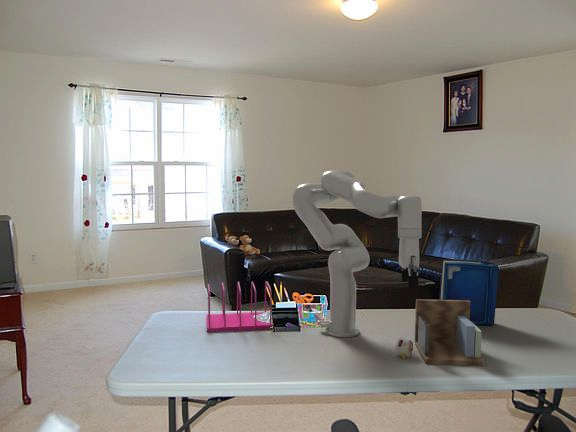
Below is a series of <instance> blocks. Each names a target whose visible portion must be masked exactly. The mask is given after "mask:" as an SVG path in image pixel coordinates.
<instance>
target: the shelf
mask: <svg viewBox="0 0 576 432" xmlns="http://www.w3.org/2000/svg"><path fill="white" fill-rule="evenodd" d="M419 315H423V317H424V318H425V320H426V321H427V322H428V324H429V325H430V328H429V355H428V356H425V355H424V354H423V352H422V350H421V348H420V347H419V345H418V322H419ZM457 316H465V317H466V318H467V319H468V320H470V301H469V300H439V299H428V298H427V299H424V298H423V299H419V298H416V299H415V315H414V319H415V321H414V343H415V344H414V346H415V345H416V346H415V347H417V348H416V349H418V350H417V352H418V353H419V355H420V357H421V359H422V361H423V360H424V361H423V362H424V364H425V365H451V366H452V365H454V366H456V365H457V366H483V367H484V365H485V361H484V359H483V358H482V357H465V356H464V354H463V353H462V352H461V350H460V349H459V348H458V347H457V345H456V330H457Z"/></svg>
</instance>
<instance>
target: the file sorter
mask: <svg viewBox="0 0 576 432" xmlns="http://www.w3.org/2000/svg"><path fill="white" fill-rule="evenodd" d="M236 285H237V287H236V313H226V294H225V293H226V292H225V291H226V290H225V284H224V281H223V282H222V281H221V301H222V303H221V304H222V309H221V310H222V313H218V314H216V313H214V314H211V289H210V283H208V284H207V307H208V308H207V314H206V315H205V316H206V318H205V320H206V333H214V332H215V333H218V332H232V331H233V332H235V331H253V330H255V331H256V330H270V329H269V328H270V327H272V326H273V327H274V323H273V324H271V320H272V314H273V313H272V309H273V307H272V306H273V305H272V302H273V301H272V300H273V299H272V297H273V294H272V289H271V286H270V284H269V281H265V283H264V311H263V312H267V287H268V289H269V316H270V323H266V322H261V321H258V320H257V319H256V315H259V314H262V313H263V312H262V311H261V312H260V311H259V312H257V289H256V286H255V284H254V281H251V284H250V312H242V290H241V285H240V281H237V283H236ZM253 291H254V312H253ZM254 315H255V318H253V316H254Z"/></svg>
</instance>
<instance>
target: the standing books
mask: <svg viewBox="0 0 576 432" xmlns="http://www.w3.org/2000/svg"><path fill="white" fill-rule="evenodd" d="M482 335H483V333H482V330H481V329H480V328H479V327H478V325H477V326H476V325H475V324H474V323H473V322H472V321H469V320H468V319H467V318H466V317H465V316H457V330H456V345H457V347H458V348H459V349H460V350H461V352H462V353H463V354H464V356H465V357H481V355H482V354H481V353H482ZM481 358H482V357H481Z"/></svg>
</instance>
